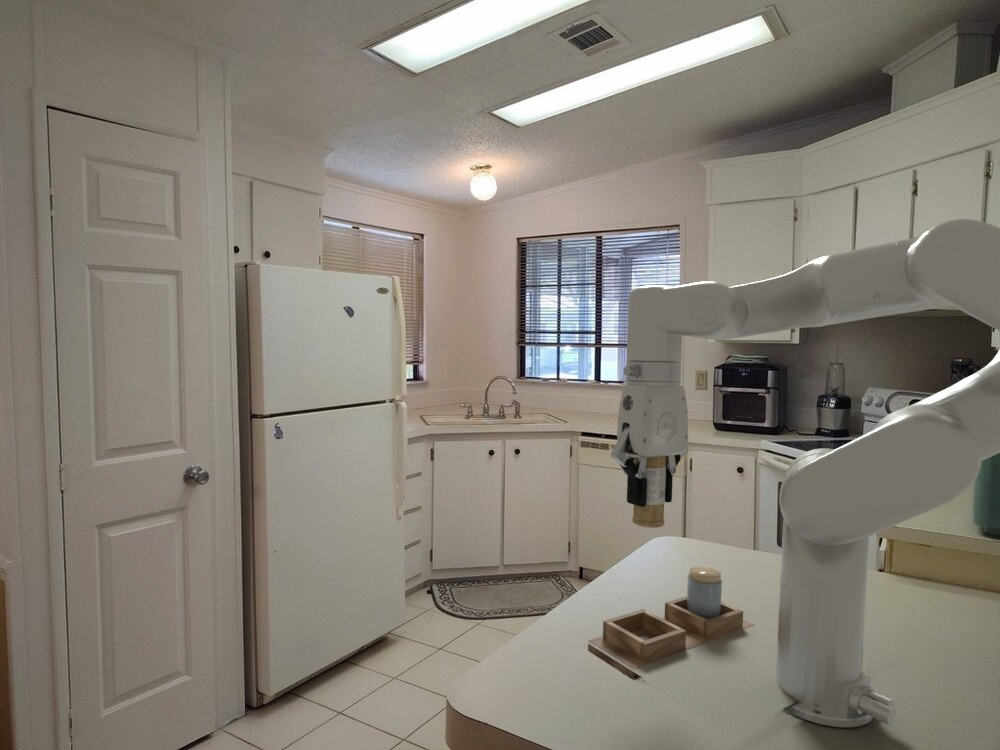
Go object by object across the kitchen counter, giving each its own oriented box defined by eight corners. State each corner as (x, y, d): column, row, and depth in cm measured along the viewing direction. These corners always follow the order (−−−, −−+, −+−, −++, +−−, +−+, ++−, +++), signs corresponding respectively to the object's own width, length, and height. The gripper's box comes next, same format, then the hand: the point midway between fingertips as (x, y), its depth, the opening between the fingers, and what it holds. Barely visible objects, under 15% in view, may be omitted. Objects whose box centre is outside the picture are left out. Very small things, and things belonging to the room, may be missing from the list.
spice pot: (727, 625, 94) (729, 574, 94) (705, 632, 91) (707, 580, 91) (700, 613, 98) (702, 564, 98) (679, 620, 95) (681, 569, 95)
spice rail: (754, 634, 95) (755, 608, 94) (633, 679, 80) (634, 650, 80) (706, 612, 102) (707, 588, 102) (588, 650, 88) (588, 623, 88)
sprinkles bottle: (645, 518, 90) (647, 427, 90) (671, 525, 87) (674, 431, 86) (625, 523, 87) (627, 429, 87) (651, 530, 84) (654, 433, 83)
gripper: (628, 376, 78) (624, 516, 79) (714, 375, 88) (709, 501, 88) (590, 373, 85) (586, 503, 85) (673, 373, 94) (669, 490, 95)
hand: (649, 501), depth 87 cm, fingers closed on sprinkles bottle, 4 cm apart
